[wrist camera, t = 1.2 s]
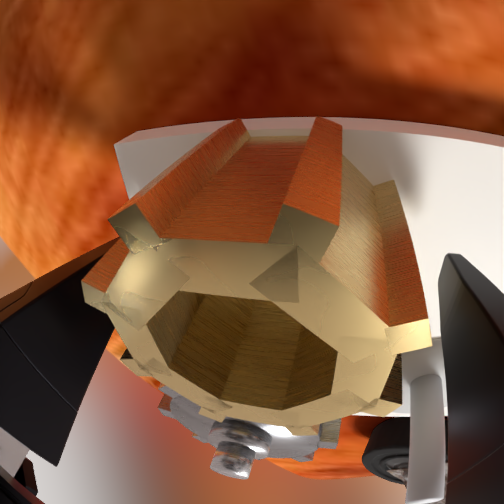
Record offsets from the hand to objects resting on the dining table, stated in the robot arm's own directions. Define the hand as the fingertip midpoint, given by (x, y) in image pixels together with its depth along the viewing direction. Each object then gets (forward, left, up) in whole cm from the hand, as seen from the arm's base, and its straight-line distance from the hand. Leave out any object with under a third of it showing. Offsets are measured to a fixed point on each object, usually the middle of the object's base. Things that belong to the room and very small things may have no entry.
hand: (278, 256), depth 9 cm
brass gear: (0, 0, -2) cm, 2 cm away
